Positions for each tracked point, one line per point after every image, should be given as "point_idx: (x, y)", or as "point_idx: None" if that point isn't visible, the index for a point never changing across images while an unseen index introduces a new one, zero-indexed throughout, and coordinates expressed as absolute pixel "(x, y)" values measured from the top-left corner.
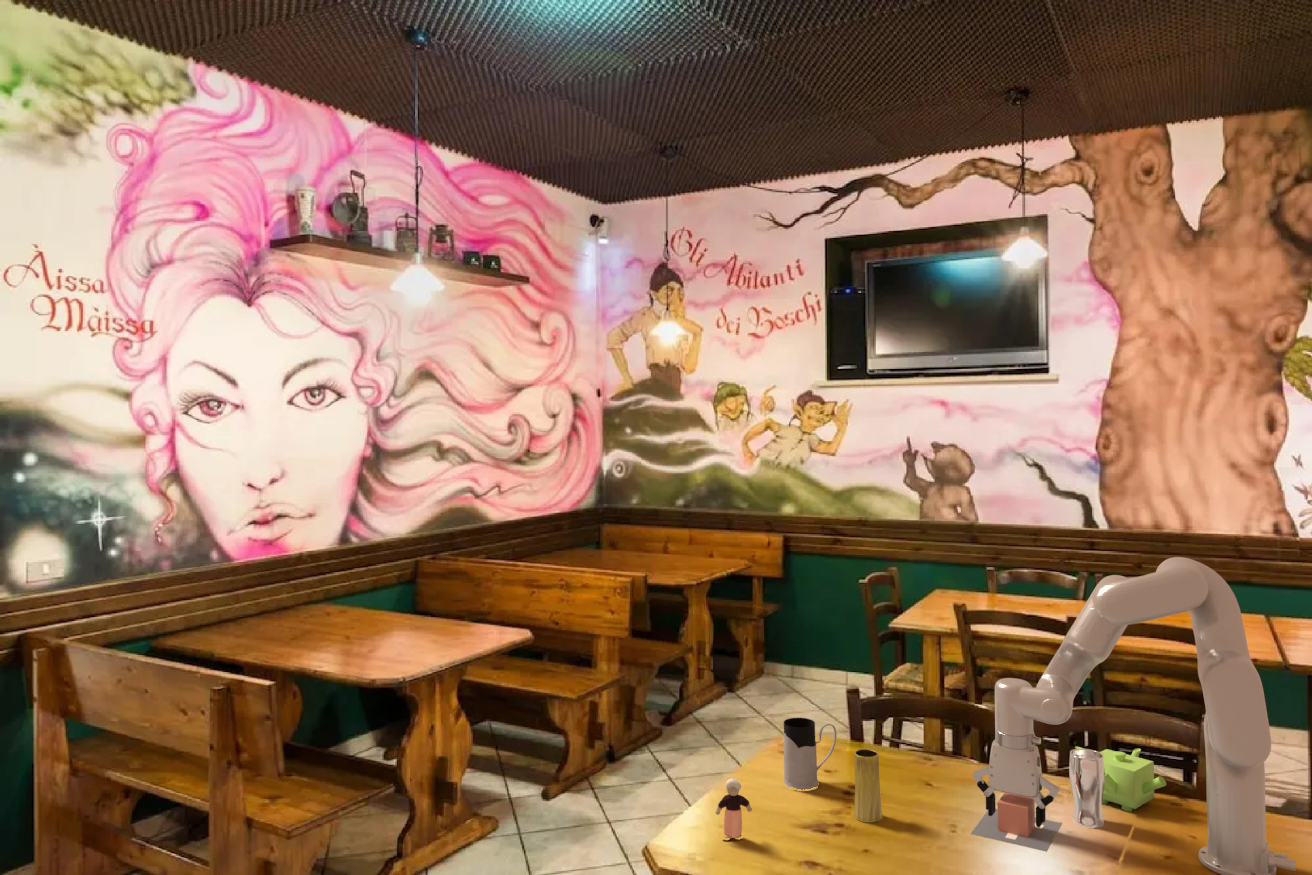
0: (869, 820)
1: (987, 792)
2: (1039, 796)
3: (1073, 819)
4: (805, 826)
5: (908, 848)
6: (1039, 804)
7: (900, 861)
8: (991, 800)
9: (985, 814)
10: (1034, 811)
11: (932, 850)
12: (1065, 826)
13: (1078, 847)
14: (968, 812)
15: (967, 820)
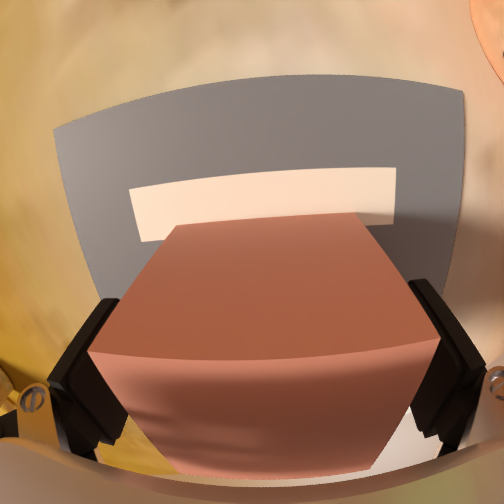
0: (11, 391)
1: (80, 456)
2: (482, 440)
3: (494, 49)
4: (7, 409)
5: (117, 449)
6: (450, 445)
7: (144, 470)
8: (120, 431)
9: (76, 225)
10: (386, 260)
11: (148, 450)
12: (469, 103)
13: (501, 287)
14: (29, 229)
15: (70, 301)
